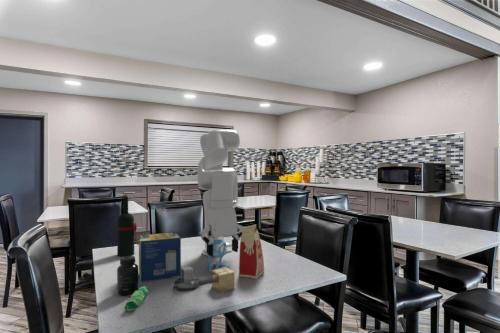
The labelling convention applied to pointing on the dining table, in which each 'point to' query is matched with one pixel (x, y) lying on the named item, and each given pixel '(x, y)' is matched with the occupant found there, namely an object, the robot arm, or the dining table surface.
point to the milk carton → (250, 253)
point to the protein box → (159, 256)
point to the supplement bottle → (127, 276)
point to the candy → (136, 298)
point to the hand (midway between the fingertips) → (222, 253)
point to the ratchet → (189, 280)
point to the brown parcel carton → (223, 279)
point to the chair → (217, 255)
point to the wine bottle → (126, 231)
